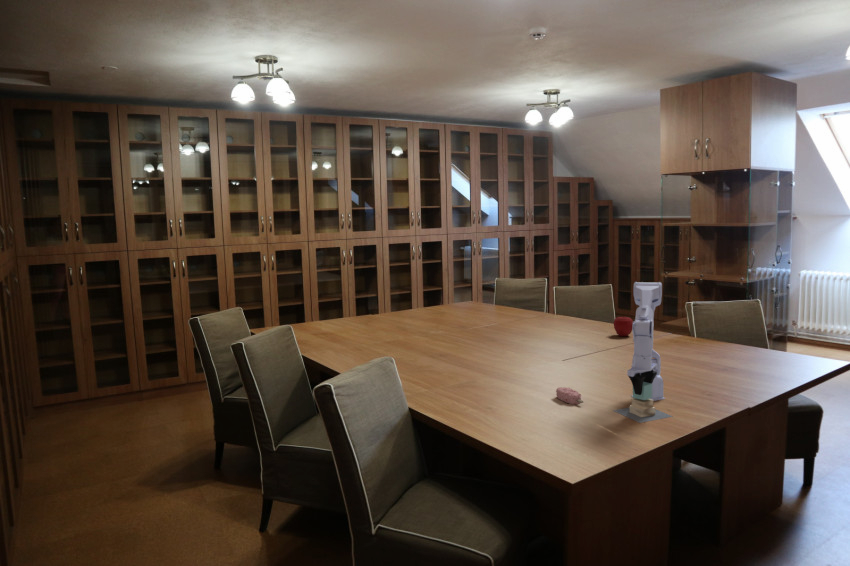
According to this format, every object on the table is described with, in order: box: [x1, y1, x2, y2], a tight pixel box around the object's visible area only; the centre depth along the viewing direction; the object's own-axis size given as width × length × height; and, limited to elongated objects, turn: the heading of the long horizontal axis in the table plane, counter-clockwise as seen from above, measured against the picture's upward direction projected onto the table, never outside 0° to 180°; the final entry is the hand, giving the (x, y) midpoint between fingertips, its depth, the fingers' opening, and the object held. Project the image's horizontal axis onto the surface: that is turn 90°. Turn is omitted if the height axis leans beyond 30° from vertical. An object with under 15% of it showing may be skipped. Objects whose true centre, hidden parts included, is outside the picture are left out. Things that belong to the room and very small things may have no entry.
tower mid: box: [631, 398, 654, 410], centre depth 206 cm, size 5×5×2 cm
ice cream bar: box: [555, 386, 584, 405], centre depth 223 cm, size 6×4×15 cm
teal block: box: [632, 382, 652, 400], centre depth 205 cm, size 4×4×5 cm
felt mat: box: [612, 406, 673, 424], centre depth 206 cm, size 14×14×1 cm
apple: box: [613, 315, 633, 337], centre depth 333 cm, size 11×11×12 cm
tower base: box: [629, 404, 656, 417], centre depth 206 cm, size 6×6×2 cm
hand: (642, 392), depth 205 cm, fingers closed on teal block, 4 cm apart
